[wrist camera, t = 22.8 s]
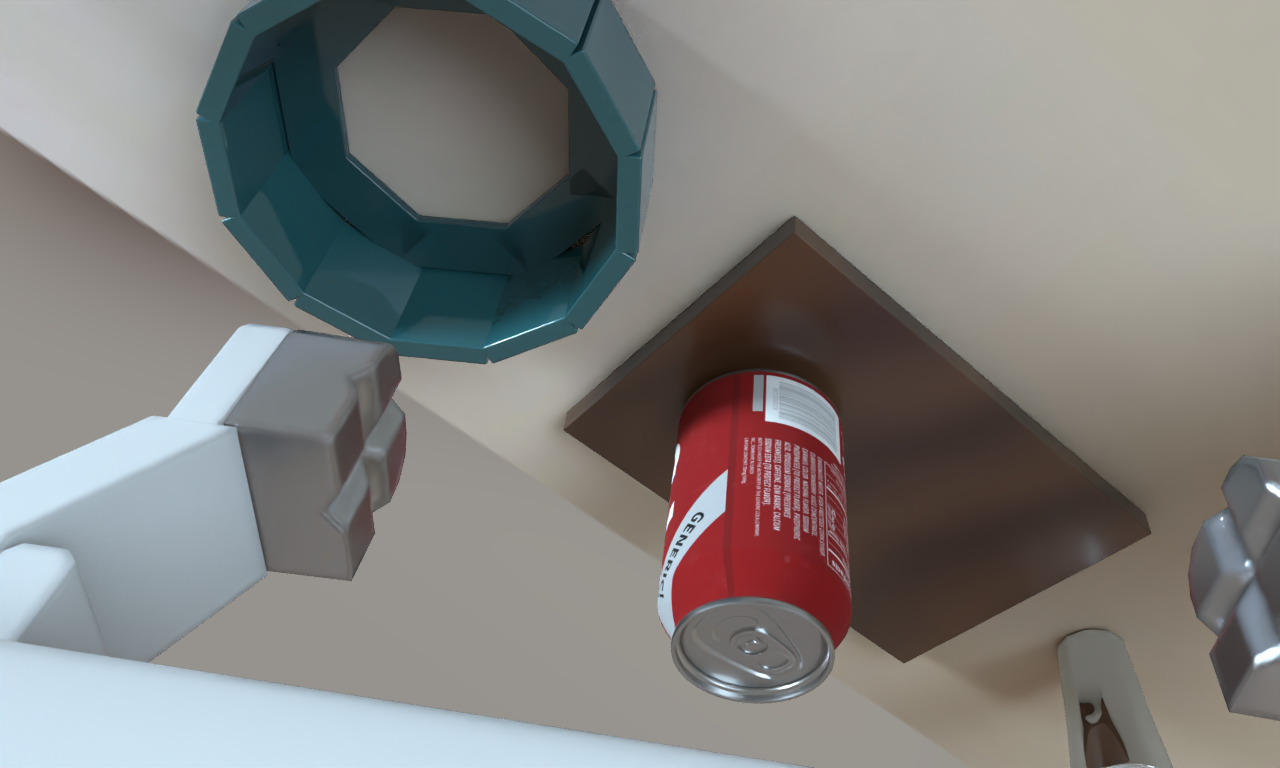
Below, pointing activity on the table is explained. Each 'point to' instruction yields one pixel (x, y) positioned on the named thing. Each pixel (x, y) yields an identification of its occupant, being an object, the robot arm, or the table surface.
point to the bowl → (391, 230)
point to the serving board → (878, 443)
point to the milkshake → (1106, 705)
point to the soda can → (757, 538)
